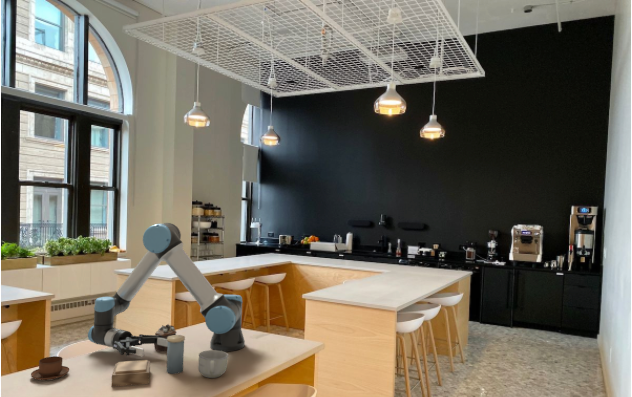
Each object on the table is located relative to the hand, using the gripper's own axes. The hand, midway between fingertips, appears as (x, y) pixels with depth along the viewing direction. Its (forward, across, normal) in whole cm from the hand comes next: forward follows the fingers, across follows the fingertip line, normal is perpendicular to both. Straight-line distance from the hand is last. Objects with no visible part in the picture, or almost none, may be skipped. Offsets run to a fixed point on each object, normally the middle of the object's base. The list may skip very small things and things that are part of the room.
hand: (157, 348), depth 179 cm
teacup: (+25, -3, -7) cm, 26 cm away
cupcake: (-14, -18, -7) cm, 24 cm away
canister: (+10, 0, -7) cm, 12 cm away
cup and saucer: (-24, +28, -7) cm, 37 cm away
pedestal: (+3, +14, -7) cm, 16 cm away
